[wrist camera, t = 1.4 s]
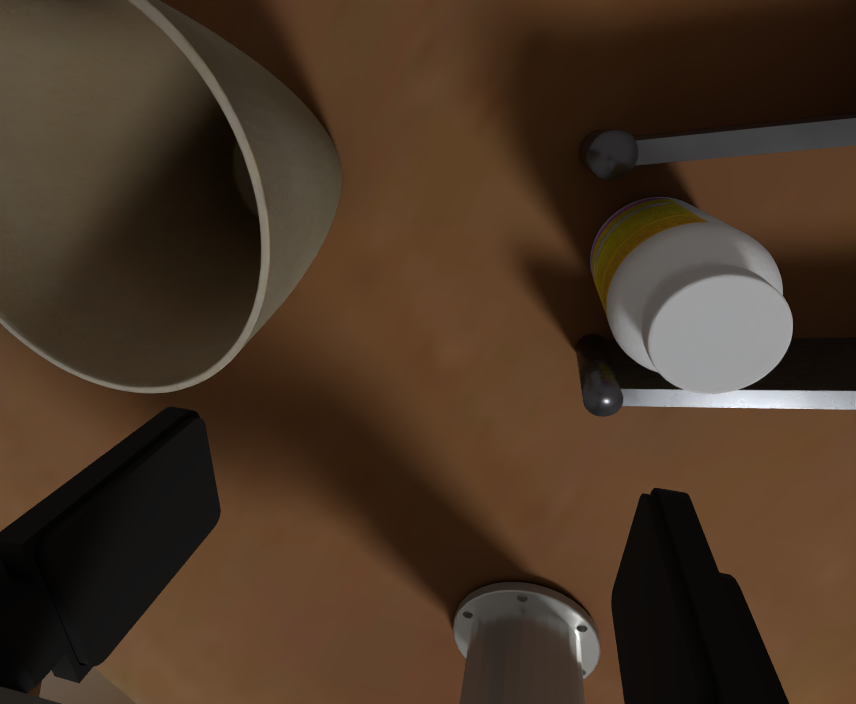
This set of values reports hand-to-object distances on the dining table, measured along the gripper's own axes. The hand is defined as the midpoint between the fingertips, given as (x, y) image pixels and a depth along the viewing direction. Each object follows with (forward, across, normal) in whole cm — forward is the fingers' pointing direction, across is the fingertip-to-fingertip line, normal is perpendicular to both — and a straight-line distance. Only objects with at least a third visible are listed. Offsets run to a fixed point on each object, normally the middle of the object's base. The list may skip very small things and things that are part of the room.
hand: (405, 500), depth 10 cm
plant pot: (+23, +14, -4) cm, 27 cm away
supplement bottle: (+23, -9, -1) cm, 25 cm away
